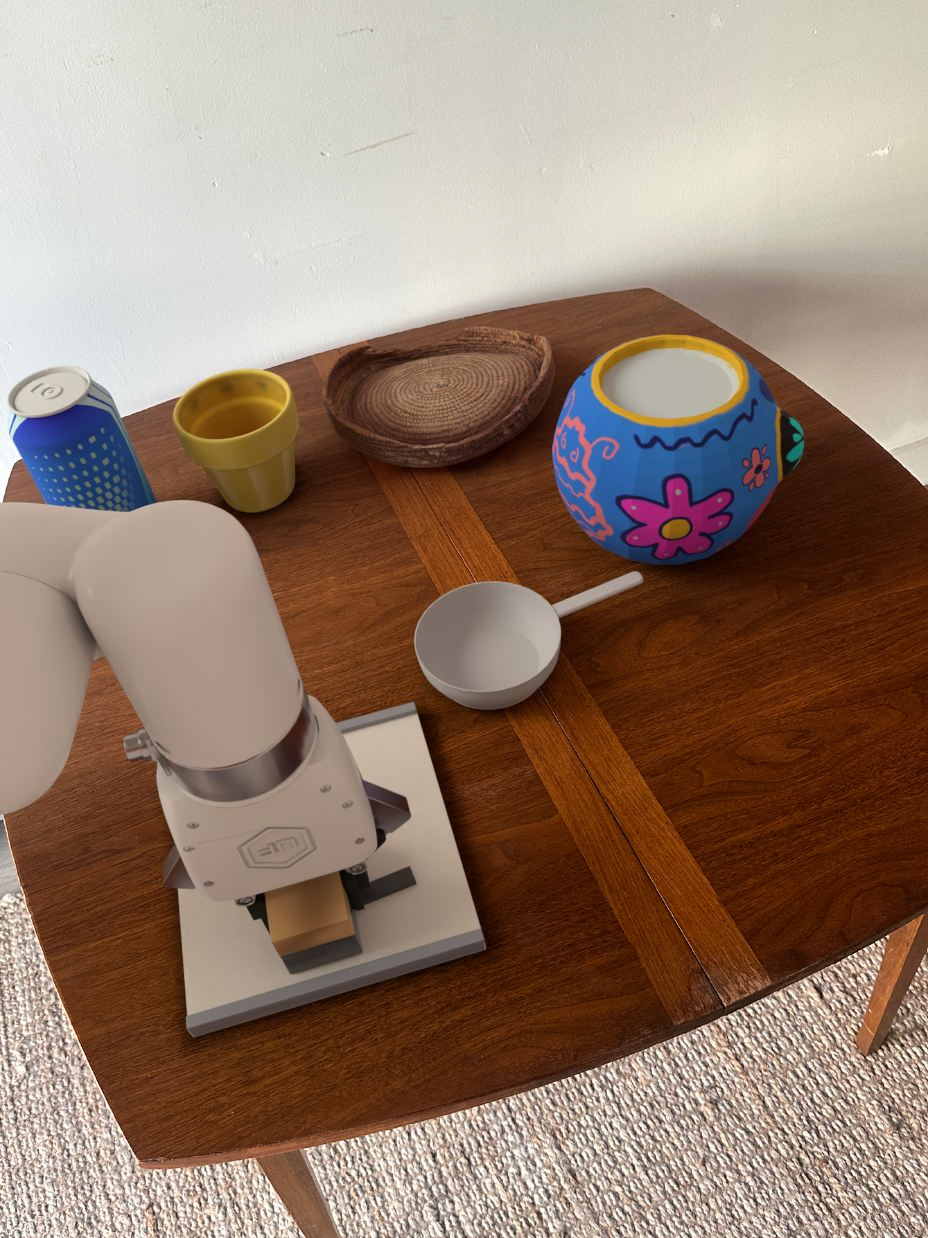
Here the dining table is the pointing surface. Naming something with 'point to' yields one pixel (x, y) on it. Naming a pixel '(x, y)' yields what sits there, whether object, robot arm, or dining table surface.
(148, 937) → the dining table surface
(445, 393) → the basket
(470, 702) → the saucepan
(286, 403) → the flower pot
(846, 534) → the dining table surface
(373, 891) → the block
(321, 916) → the eraser
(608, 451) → the ceramic pot
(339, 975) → the whiteboard
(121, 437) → the beer can
